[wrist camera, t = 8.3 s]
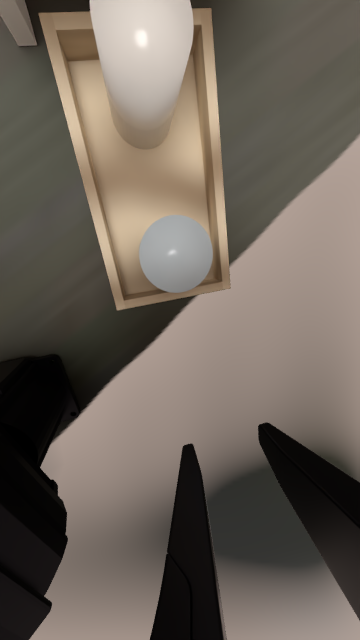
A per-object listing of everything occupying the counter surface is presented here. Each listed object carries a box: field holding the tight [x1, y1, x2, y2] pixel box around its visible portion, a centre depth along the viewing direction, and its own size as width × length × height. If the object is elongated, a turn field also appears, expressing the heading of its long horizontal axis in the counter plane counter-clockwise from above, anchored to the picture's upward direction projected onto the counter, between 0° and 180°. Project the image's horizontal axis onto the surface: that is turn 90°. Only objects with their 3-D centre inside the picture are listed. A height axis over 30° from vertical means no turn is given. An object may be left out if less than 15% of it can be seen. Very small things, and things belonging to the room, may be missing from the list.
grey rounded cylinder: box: [139, 215, 213, 293], centre depth 14 cm, size 4×4×6 cm
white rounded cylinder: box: [90, 0, 194, 149], centre depth 11 cm, size 4×4×6 cm
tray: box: [38, 8, 230, 310], centre depth 14 cm, size 15×9×2 cm, turn 9°
